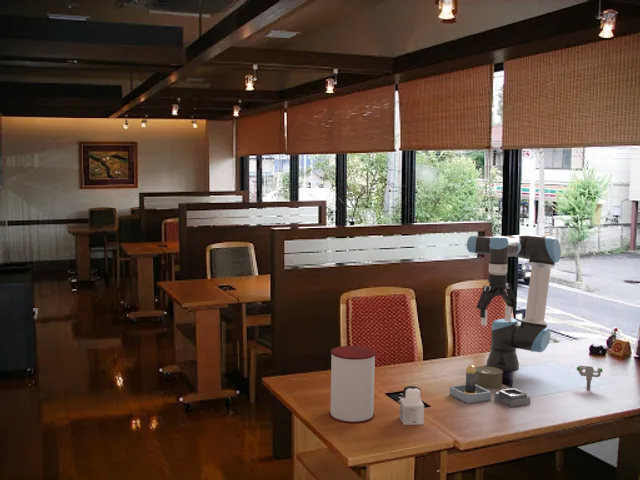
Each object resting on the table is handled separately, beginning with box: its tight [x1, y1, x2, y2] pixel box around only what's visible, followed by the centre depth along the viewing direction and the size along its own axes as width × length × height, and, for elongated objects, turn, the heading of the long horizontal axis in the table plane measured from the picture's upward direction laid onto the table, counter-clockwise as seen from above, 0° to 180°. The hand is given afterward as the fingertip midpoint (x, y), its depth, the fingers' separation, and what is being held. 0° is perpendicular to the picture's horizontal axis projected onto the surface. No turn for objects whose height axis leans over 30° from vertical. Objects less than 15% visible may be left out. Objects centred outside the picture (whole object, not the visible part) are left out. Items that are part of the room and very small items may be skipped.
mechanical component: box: [576, 365, 603, 391], centre depth 298 cm, size 3×10×10 cm, turn 79°
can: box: [475, 365, 504, 390], centre depth 302 cm, size 12×12×7 cm
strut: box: [464, 364, 477, 395], centre depth 284 cm, size 5×5×13 cm
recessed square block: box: [494, 387, 532, 409], centre depth 280 cm, size 10×10×4 cm
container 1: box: [328, 345, 377, 424], centre depth 262 cm, size 17×17×25 cm
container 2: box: [398, 385, 425, 426], centre depth 257 cm, size 8×8×13 cm
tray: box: [449, 383, 492, 405], centre depth 285 cm, size 12×12×4 cm
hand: (495, 323), depth 287 cm, fingers open, 13 cm apart
